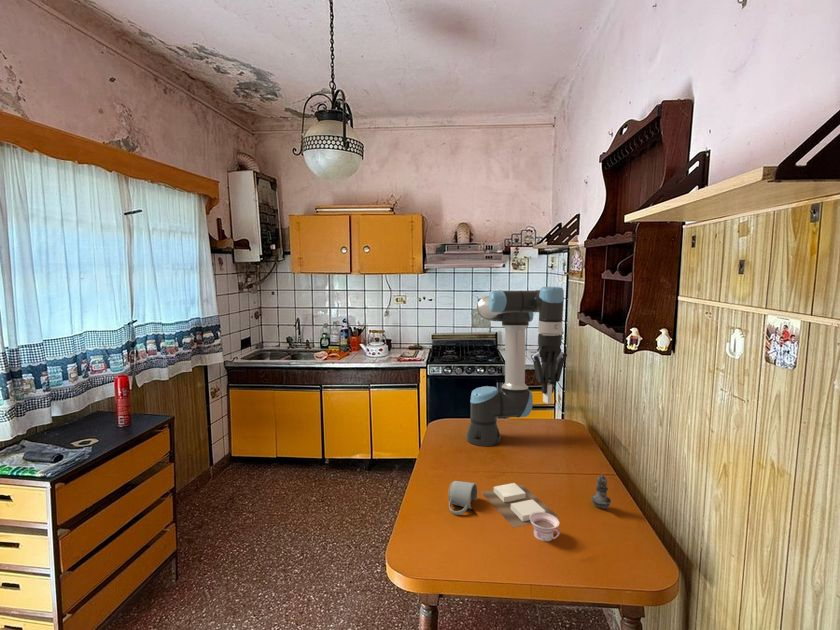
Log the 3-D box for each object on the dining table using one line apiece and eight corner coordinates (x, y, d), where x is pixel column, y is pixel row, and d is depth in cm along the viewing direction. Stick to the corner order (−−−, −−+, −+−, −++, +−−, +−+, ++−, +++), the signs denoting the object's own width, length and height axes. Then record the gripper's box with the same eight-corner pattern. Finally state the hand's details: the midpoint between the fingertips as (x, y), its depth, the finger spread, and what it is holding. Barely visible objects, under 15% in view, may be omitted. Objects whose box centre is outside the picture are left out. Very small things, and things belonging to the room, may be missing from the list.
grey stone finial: (586, 506, 139) (588, 471, 138) (600, 503, 142) (602, 468, 140) (600, 516, 134) (602, 480, 133) (614, 512, 136) (616, 476, 135)
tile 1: (514, 488, 148) (493, 492, 146) (514, 482, 148) (493, 486, 146) (525, 498, 142) (504, 502, 139) (525, 493, 142) (504, 497, 139)
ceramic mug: (454, 496, 146) (454, 474, 145) (477, 501, 142) (478, 479, 141) (443, 513, 136) (443, 490, 135) (467, 519, 133) (468, 495, 132)
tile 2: (532, 505, 138) (510, 509, 136) (532, 499, 138) (510, 503, 135) (545, 517, 132) (522, 522, 129) (545, 511, 131) (522, 515, 129)
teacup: (513, 538, 123) (514, 518, 123) (537, 522, 131) (537, 503, 131) (551, 560, 114) (552, 538, 114) (574, 540, 123) (575, 520, 122)
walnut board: (480, 495, 146) (480, 491, 146) (521, 487, 151) (521, 484, 151) (513, 531, 126) (513, 527, 126) (559, 521, 132) (559, 517, 131)
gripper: (539, 336, 137) (536, 408, 140) (573, 334, 141) (570, 403, 144) (526, 332, 144) (524, 400, 147) (559, 330, 148) (556, 397, 151)
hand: (547, 402), depth 145 cm, fingers closed
